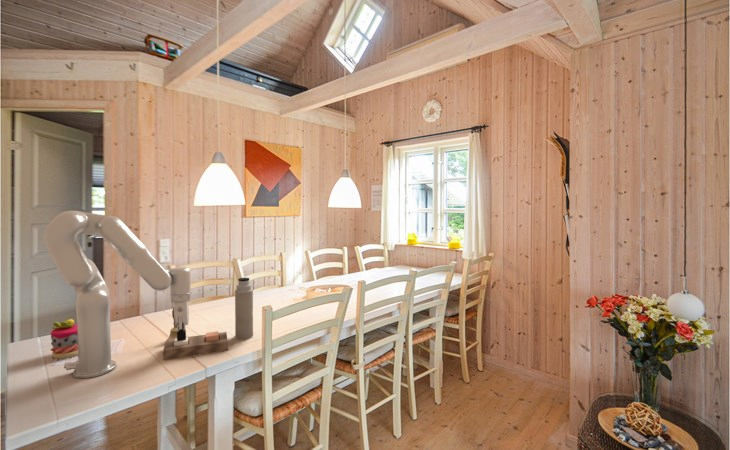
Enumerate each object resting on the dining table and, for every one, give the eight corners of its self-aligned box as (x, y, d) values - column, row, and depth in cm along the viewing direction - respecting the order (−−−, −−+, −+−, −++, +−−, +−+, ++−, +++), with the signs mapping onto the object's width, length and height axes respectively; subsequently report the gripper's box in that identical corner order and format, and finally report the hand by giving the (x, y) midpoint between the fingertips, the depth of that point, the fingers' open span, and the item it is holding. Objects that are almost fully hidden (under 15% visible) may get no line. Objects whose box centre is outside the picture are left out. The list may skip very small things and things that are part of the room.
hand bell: (177, 344, 153) (176, 309, 152) (161, 343, 154) (160, 308, 154) (190, 337, 161) (190, 304, 160) (175, 336, 163) (174, 303, 162)
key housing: (163, 360, 137) (163, 350, 137) (166, 348, 148) (166, 339, 148) (227, 350, 147) (227, 341, 147) (226, 340, 158) (226, 331, 158)
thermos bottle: (247, 332, 169) (247, 275, 168) (256, 336, 164) (256, 278, 162) (232, 336, 163) (231, 278, 162) (240, 341, 158) (240, 280, 156)
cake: (57, 351, 144) (56, 316, 143) (88, 347, 148) (87, 313, 148) (46, 362, 135) (45, 324, 134) (79, 357, 139) (78, 321, 138)
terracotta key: (206, 343, 147) (205, 336, 147) (206, 339, 151) (205, 332, 151) (218, 341, 149) (218, 335, 149) (218, 337, 153) (218, 331, 153)
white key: (174, 350, 142) (173, 343, 142) (175, 345, 146) (175, 338, 146) (187, 348, 144) (187, 341, 144) (188, 343, 149) (188, 337, 148)
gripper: (189, 300, 139) (190, 345, 140) (191, 292, 152) (192, 332, 153) (168, 302, 136) (169, 348, 137) (172, 293, 149) (173, 335, 150)
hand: (181, 339), depth 145 cm, fingers closed
